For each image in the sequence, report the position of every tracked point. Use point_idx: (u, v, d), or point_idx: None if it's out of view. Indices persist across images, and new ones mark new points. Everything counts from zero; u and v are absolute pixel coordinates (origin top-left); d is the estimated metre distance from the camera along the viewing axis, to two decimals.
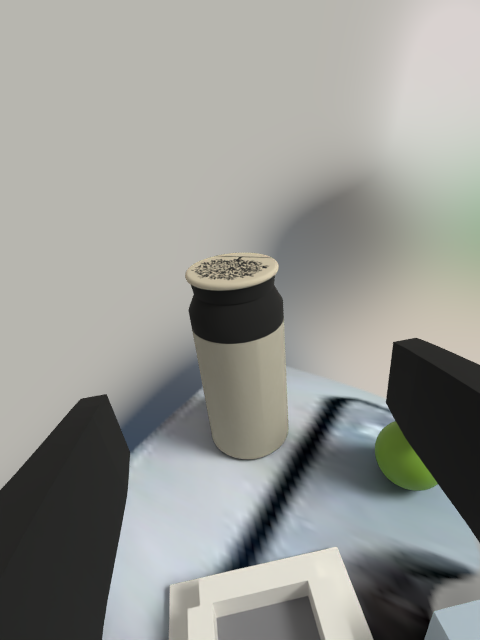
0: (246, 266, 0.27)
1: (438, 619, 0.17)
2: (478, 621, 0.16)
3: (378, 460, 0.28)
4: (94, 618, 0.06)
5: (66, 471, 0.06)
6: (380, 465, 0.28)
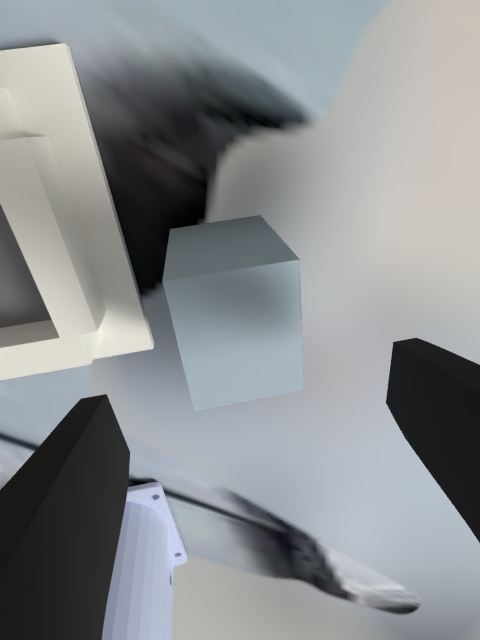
0: None
1: None
2: (226, 295, 0.10)
3: None
4: (94, 619, 0.06)
5: (66, 471, 0.06)
6: None
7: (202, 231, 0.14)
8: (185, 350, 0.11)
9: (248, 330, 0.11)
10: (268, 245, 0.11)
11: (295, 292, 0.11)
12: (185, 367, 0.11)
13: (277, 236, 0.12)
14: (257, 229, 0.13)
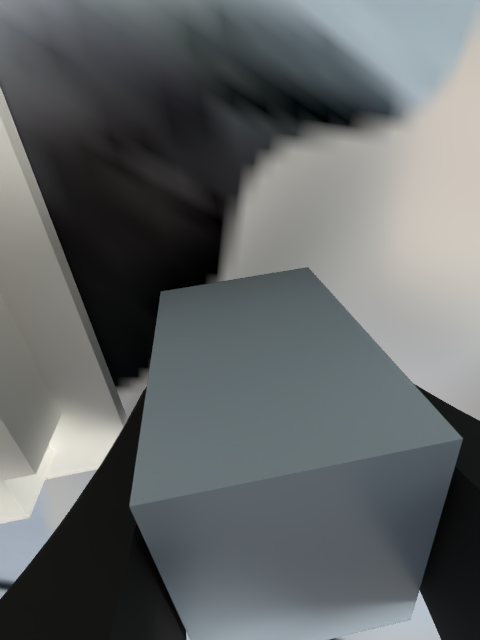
0: None
1: (136, 521, 0.04)
2: (282, 514, 0.04)
3: None
4: None
5: None
6: None
7: (215, 303, 0.08)
8: (186, 601, 0.05)
9: (323, 559, 0.05)
10: (356, 364, 0.06)
11: (435, 494, 0.05)
12: (186, 622, 0.05)
13: (363, 333, 0.06)
14: (315, 306, 0.07)
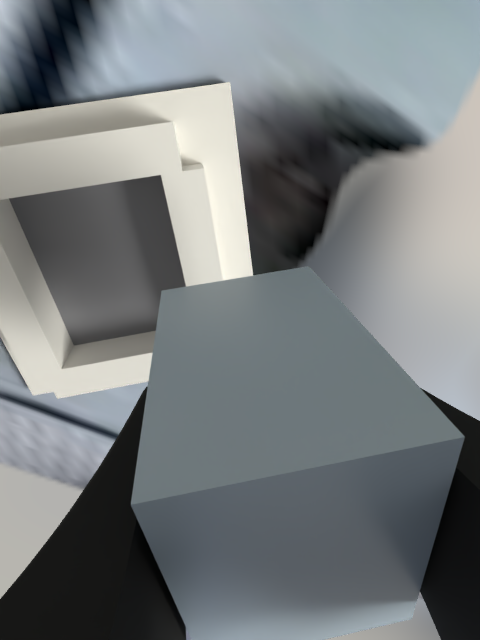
0: None
1: (138, 518, 0.04)
2: (284, 512, 0.04)
3: None
4: None
5: None
6: None
7: (216, 302, 0.08)
8: (187, 599, 0.05)
9: (324, 557, 0.05)
10: (358, 362, 0.06)
11: (437, 493, 0.05)
12: (187, 621, 0.05)
13: (365, 331, 0.06)
14: (316, 305, 0.07)
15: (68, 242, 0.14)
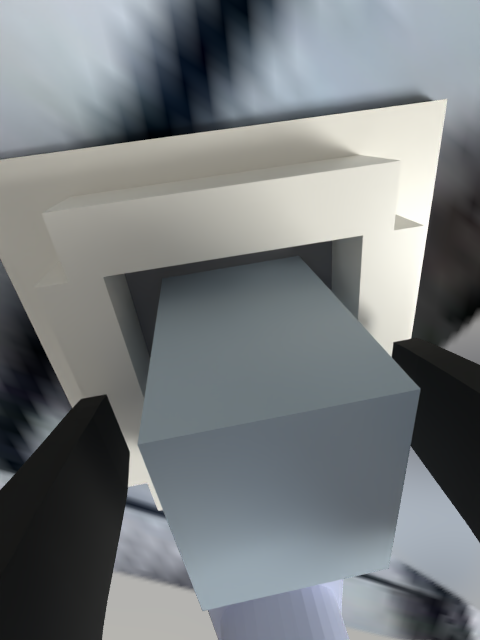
0: None
1: (143, 458, 0.05)
2: (268, 456, 0.05)
3: None
4: (94, 618, 0.06)
5: (66, 471, 0.06)
6: None
7: (212, 287, 0.09)
8: (186, 539, 0.06)
9: (306, 502, 0.06)
10: (336, 334, 0.06)
11: (401, 441, 0.05)
12: (186, 561, 0.06)
13: (344, 309, 0.07)
14: (303, 288, 0.08)
15: None
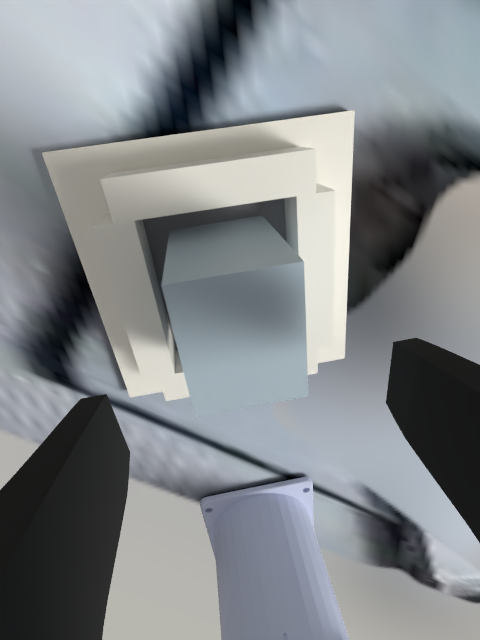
0: None
1: None
2: (227, 299, 0.10)
3: None
4: (94, 618, 0.06)
5: (66, 471, 0.06)
6: None
7: (202, 232, 0.14)
8: (185, 355, 0.11)
9: (251, 334, 0.11)
10: (271, 246, 0.11)
11: (299, 295, 0.10)
12: (185, 373, 0.11)
13: (280, 237, 0.12)
14: (259, 230, 0.13)
15: None
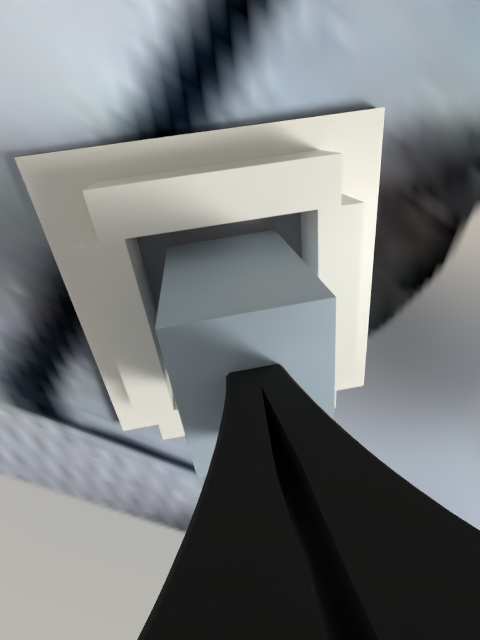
0: None
1: (158, 340, 0.08)
2: (239, 343, 0.08)
3: None
4: None
5: None
6: None
7: (206, 251, 0.12)
8: (186, 410, 0.09)
9: None
10: (290, 273, 0.09)
11: (328, 337, 0.08)
12: (186, 430, 0.09)
13: (300, 260, 0.10)
14: (273, 249, 0.11)
15: None
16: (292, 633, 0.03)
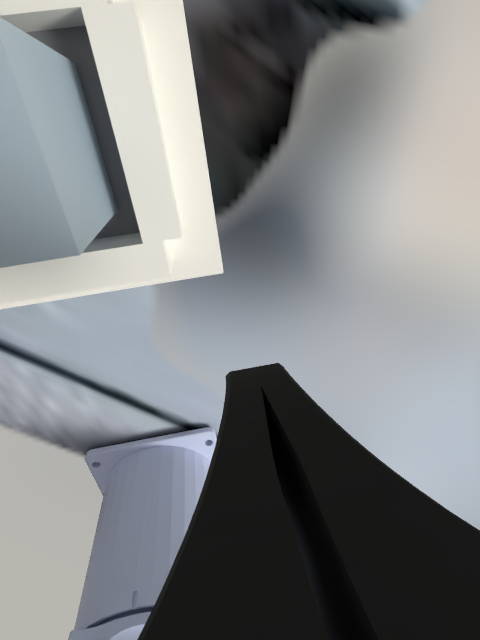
0: None
1: None
2: None
3: None
4: None
5: None
6: None
7: None
8: None
9: None
10: None
11: (5, 75, 0.07)
12: None
13: (35, 40, 0.09)
14: None
15: None
16: (292, 633, 0.03)
